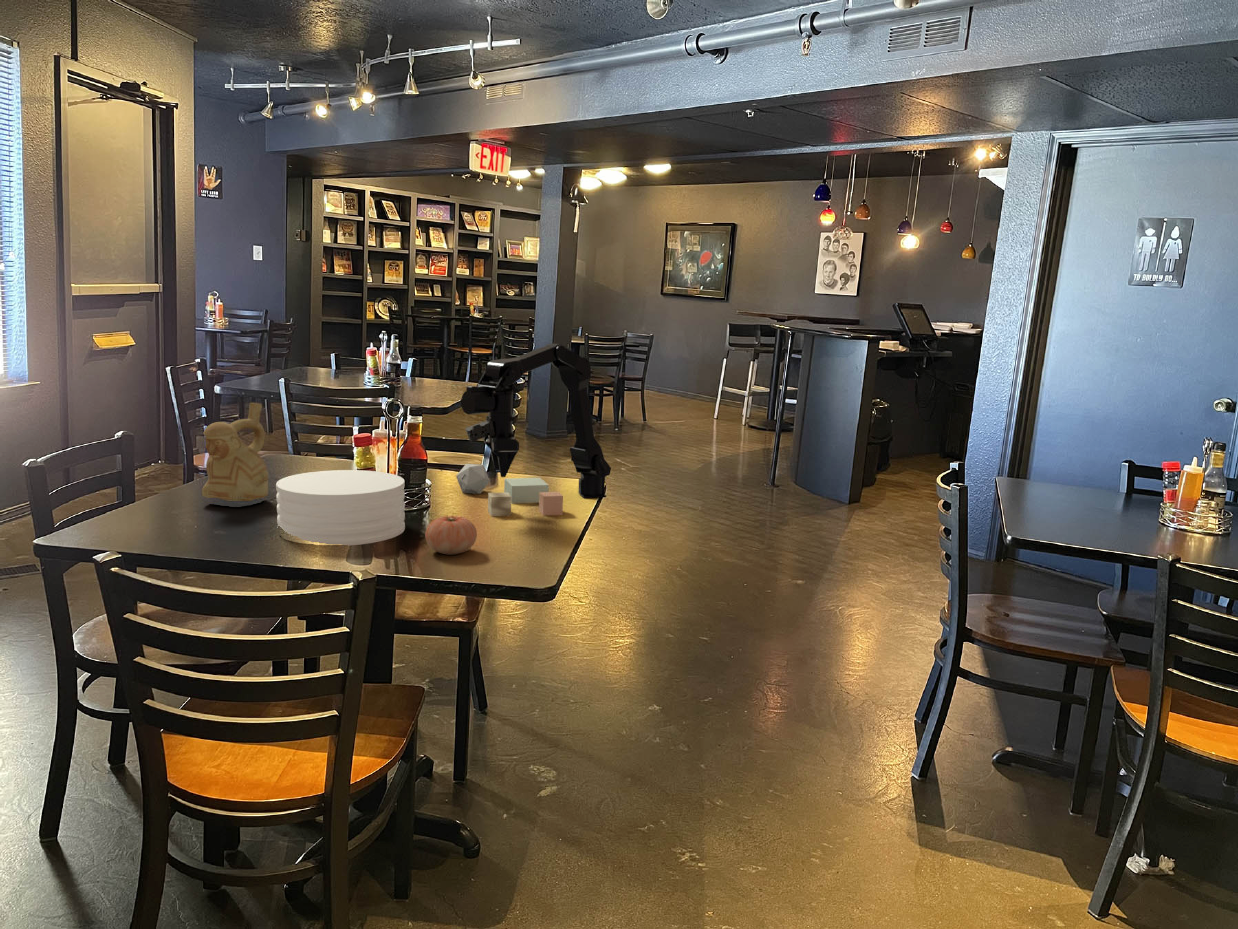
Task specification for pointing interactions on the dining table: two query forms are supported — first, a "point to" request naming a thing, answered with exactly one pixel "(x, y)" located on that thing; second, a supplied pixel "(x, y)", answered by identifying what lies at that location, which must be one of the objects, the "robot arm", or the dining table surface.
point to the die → (472, 478)
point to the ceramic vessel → (236, 460)
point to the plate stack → (342, 506)
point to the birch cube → (499, 504)
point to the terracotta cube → (550, 503)
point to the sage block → (525, 489)
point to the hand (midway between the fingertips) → (499, 473)
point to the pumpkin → (451, 535)
